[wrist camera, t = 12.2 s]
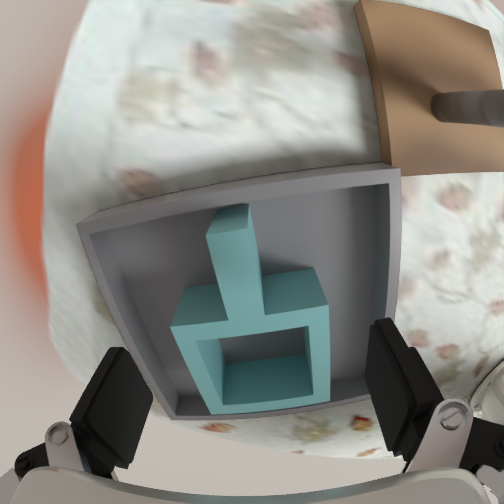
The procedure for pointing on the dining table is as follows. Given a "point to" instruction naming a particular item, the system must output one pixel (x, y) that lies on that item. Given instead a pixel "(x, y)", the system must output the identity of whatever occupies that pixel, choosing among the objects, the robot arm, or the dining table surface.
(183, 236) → the tray
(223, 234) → the teal hollow frame
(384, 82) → the stake board
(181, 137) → the dining table surface
